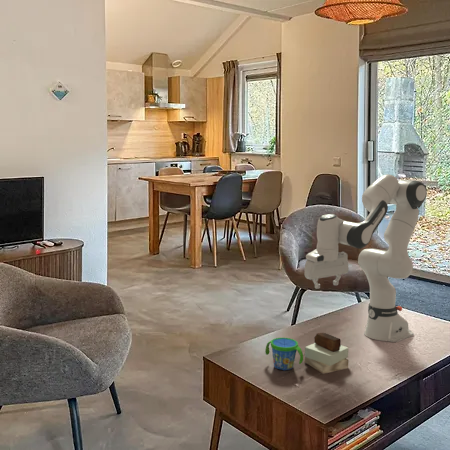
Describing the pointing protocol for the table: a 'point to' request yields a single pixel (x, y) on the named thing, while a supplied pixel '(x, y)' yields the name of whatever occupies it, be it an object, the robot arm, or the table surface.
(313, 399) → the table surface
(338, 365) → the lower slab
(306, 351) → the upper slab
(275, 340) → the snack cup
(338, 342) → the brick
